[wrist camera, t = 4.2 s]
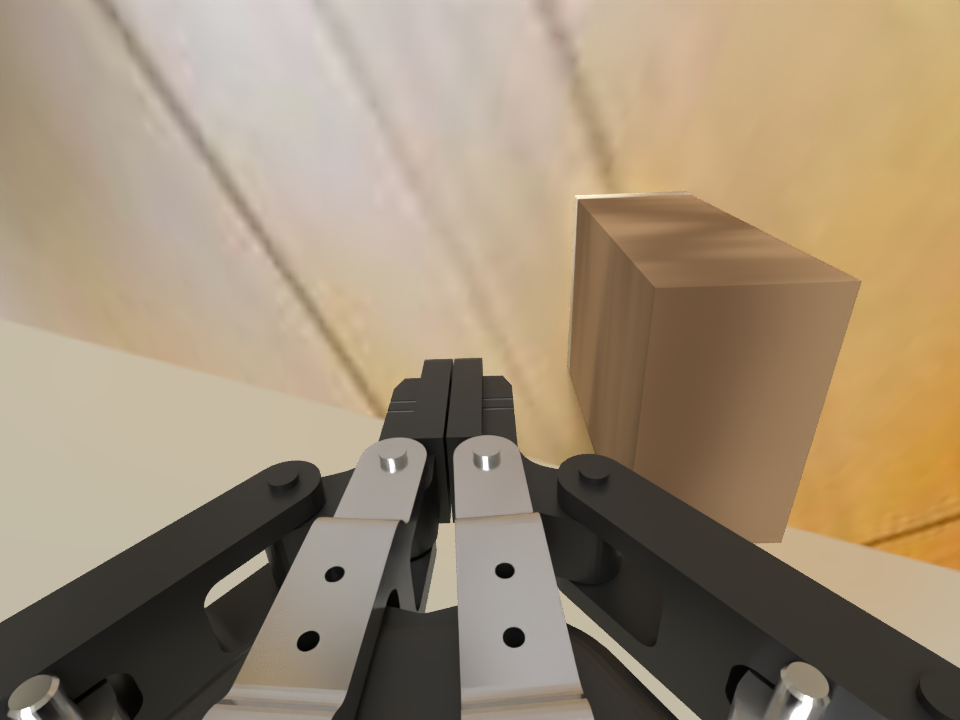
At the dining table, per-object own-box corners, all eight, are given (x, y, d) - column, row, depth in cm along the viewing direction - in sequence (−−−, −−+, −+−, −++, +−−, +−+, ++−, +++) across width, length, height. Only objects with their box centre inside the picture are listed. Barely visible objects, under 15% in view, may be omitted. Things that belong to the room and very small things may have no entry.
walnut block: (685, 191, 19) (862, 280, 10) (662, 362, 22) (781, 543, 13) (574, 195, 19) (654, 287, 10) (567, 365, 22) (623, 547, 14)
